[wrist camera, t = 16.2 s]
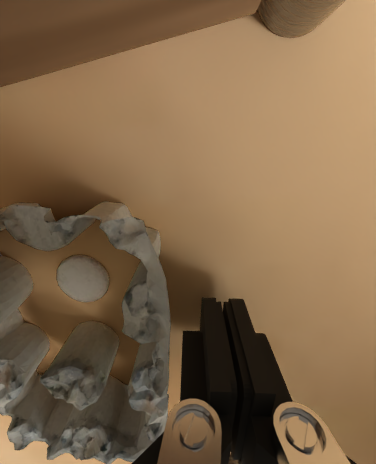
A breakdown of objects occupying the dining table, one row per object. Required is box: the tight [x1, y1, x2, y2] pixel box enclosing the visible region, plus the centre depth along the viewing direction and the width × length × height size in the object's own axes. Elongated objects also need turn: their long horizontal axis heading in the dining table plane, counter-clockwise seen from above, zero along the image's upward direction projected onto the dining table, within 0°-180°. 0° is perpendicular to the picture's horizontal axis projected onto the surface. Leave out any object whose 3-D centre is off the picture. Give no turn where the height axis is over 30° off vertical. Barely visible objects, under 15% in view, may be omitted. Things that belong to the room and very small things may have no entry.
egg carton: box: [0, 201, 171, 464], centre depth 9 cm, size 11×8×4 cm
